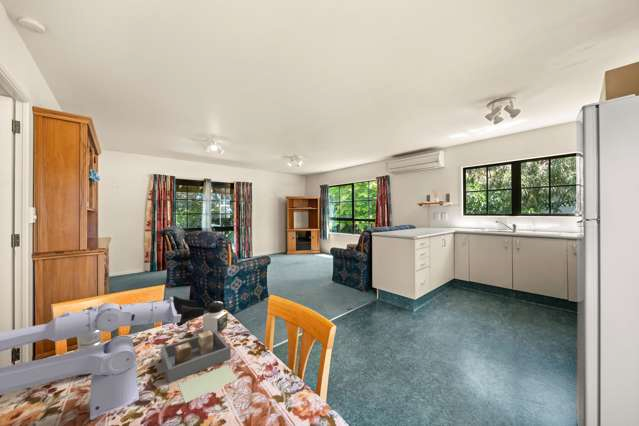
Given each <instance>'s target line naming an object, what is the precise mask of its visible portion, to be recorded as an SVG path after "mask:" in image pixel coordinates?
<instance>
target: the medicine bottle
mask: <svg viewBox="0 0 639 426" xmlns="http://www.w3.org/2000/svg"><path fill="white" fill-rule="evenodd" d="M226 328H228V312H227V311H224V303H223V302H222V301H218V300H217V301H212V302H210V303H209V304H208V305H207V314H206V315H203V316H202V333H203V332H206V331H211V332H213V331H216V332H217V333H218V334H219V335H220V333H221V332H222V331H223V330H225V329H226Z"/></svg>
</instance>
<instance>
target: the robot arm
mask: <svg viewBox="0 0 639 426" xmlns="http://www.w3.org/2000/svg"><path fill="white" fill-rule="evenodd" d="M197 305H198V301H197V300H193V299H186V298H182V297H178V296H176V295H173V296H170V297H169V298H168V299H167V300H163V301H154V302H153V301H151V302H150V301H149V302H135V303H130V304H118V303H116V302H104V303H102V304H100V305H99V306H98V305H97V306H96V305H95V306H91V307H92V309H90V310H85V311H83V310H82V311H76V312H72V311H71V310H68V311H63V312H62V314H61V315H57V316H55V317H54V318H52V319H51V320H50V321H49V322H48V323H42V324H38V325H32V326H28V327H23V328H17V329H12V330H11V329H10V330H5V331H0V352H4V351H8V350H12V349H14V348H19V347H22V346H26V345H30V344H33V343H36V342H39V341H43V340H49V341H53V342H55V343H56V342H61V341H65V340H69V339H72V338H77V336H81V335H84V334H88V333H89V330H90V333H92V332H94V331H96V330H100V331H101V330H102V331H103V332H105V333H111V332H113V331H115V330H117V329H118V328H121V327H122V328H123V327H130V326H138V325H146V324H147V325H148V324H157V323H163V322H166V323H172V324H176V325H177V326H178V327H181V326H183V325H185V324H186V323H188V322H190V321H192V320H195V319H198V318H201V317H204V316H205V315H204V314H205V310H206V309H205V308H204V307H197ZM137 357H138V356H137V351H136V350H135V346H134V340H133V338H132V337H131V336H129V335H126V334H125V335H124V334H123V335H121V334H120V335H118V336H115V337H113V338H111V339H109V340H107V341H104V342H101V343H100V344H98V345H96V346H94V347H92V348H90V349H87V350H82V351H78V350H77V351H73V352H68V353H63V354H60V355H54V356H49V357H45V358H41V359H40V358H39V359H36V360H31V361H25V362H22V363H16V364H11V365H7V366H2V367H0V396H2V395H5V394H9V393H13V392H17V391H21V390H25V389H28V388H29V389H30V388H32V387H33V388H34V387H37V386H41V385H43V384H49V383H51V382H52V383H53V382H56V381H59V380H60V381H61V380H64V379H67V378H71V377H75V376H81V375H80V374H83V373H90V374H91V377H90V378H91V380H90V392H89V393H90V397H89V400H88V408H90V409H89V420H90V421H92V420H96V419H97V418H99V416H102V415H104V414H107V413H110V412H112V411H114V410H117V409H120V408H123V407H125V406H127V405H130V404H132V403H134V402H137V401H139V400H140V394H139V387H138V382H137V380H138V379H137V377H138V376H137V375H138V374H137V372H138V371H137V368H138V367H137V366H138V362H137V360H138V359H137Z"/></svg>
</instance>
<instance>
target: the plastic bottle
mask: <svg viewBox="0 0 639 426" xmlns="http://www.w3.org/2000/svg"><path fill="white" fill-rule="evenodd" d="M92 307H93V306H90V307H85V308H84V309H82V311H85V310H90V309H92ZM103 332H104V331H102V330H101V331H100V330H96V331H94V332H92V333H90V330H89V333H88V334H84V335H81V336H77V337H76V341H77V351H82V350H87V349H90V348H92V347H94V346H96V345H98V344H100V343H103V342H102V341H103V340H102V338H103ZM89 374H91V373H83V374H80V375H79V376H87V375H89Z"/></svg>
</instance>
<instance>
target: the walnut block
mask: <svg viewBox="0 0 639 426" xmlns="http://www.w3.org/2000/svg"><path fill="white" fill-rule="evenodd" d="M190 360H191V345H190V344H189V342H187V343H184V344H181V345H178V346H175V366H176V365H179V364H181V363H184V362H187V361H190Z"/></svg>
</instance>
